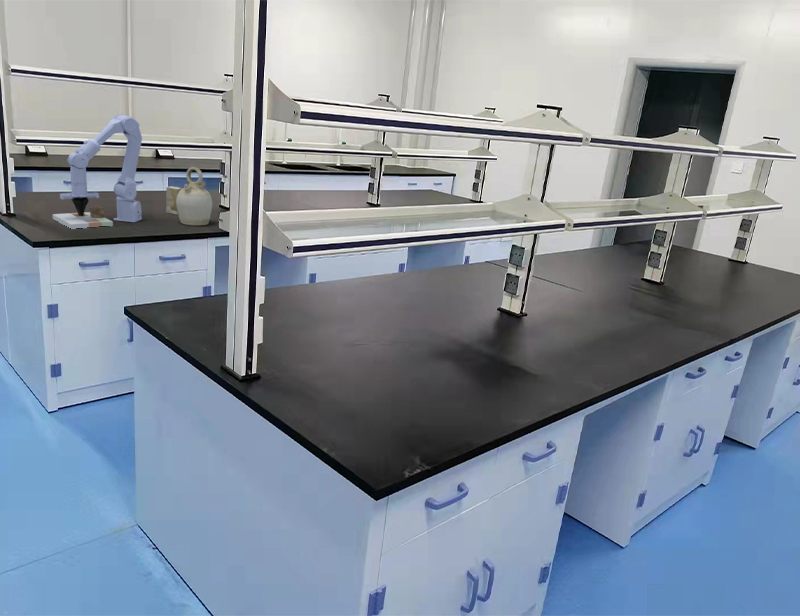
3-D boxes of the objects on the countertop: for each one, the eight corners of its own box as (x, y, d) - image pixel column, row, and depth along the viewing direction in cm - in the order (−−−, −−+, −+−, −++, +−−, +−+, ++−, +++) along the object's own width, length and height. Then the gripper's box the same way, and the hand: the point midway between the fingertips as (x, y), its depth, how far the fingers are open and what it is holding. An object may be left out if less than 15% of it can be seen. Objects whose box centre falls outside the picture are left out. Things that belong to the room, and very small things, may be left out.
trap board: (93, 216, 275) (93, 211, 275) (113, 226, 263) (112, 221, 262) (52, 218, 264) (52, 214, 263) (71, 229, 251) (70, 224, 250)
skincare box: (165, 212, 297) (165, 186, 293) (171, 211, 301) (171, 185, 297) (177, 214, 296) (177, 188, 292) (183, 213, 300) (183, 187, 296)
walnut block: (100, 215, 269) (99, 206, 268) (103, 217, 267) (103, 208, 266) (90, 216, 267) (89, 207, 265) (94, 218, 264) (93, 208, 263)
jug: (197, 217, 294) (197, 163, 286) (219, 224, 286) (219, 168, 278) (169, 221, 282) (168, 164, 274) (191, 228, 274) (190, 170, 266)
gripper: (63, 185, 250) (66, 218, 254) (101, 184, 260) (102, 216, 264) (57, 182, 254) (59, 215, 259) (94, 181, 264) (95, 213, 269)
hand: (80, 215), depth 262 cm, fingers closed
